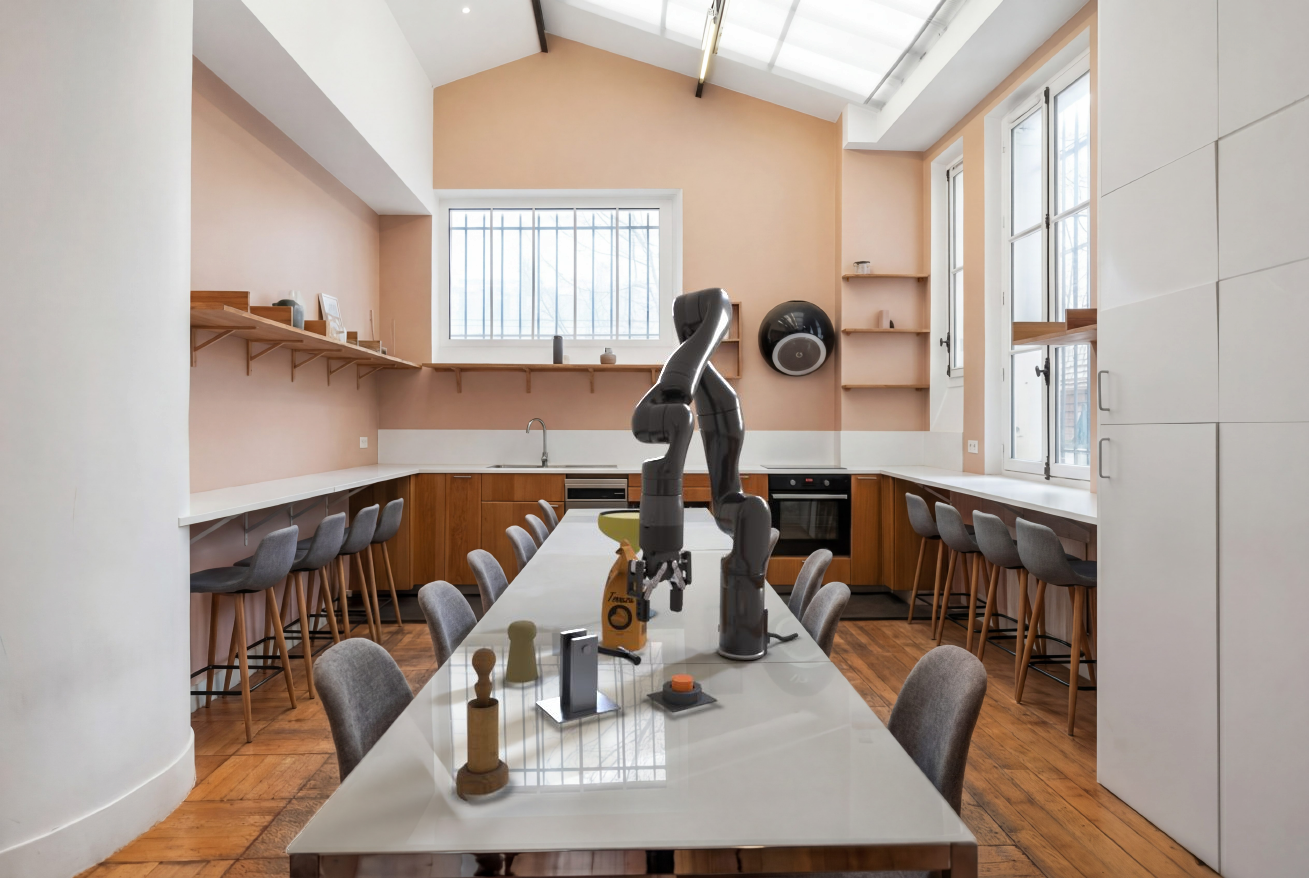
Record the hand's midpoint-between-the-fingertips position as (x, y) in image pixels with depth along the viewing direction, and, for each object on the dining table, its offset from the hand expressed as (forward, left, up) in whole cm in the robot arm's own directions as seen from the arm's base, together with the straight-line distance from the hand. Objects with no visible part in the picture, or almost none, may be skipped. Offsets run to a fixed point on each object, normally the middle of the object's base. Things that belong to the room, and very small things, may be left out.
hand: (659, 616), depth 116 cm
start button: (-3, +2, -12) cm, 13 cm away
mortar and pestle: (+34, +11, -15) cm, 39 cm away
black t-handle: (+9, -4, -6) cm, 12 cm away
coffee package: (-10, -29, -15) cm, 34 cm away
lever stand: (+13, -4, -15) cm, 20 cm away
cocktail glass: (-25, -50, -15) cm, 57 cm away
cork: (+16, -21, -15) cm, 30 cm away
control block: (-3, +2, -15) cm, 15 cm away
